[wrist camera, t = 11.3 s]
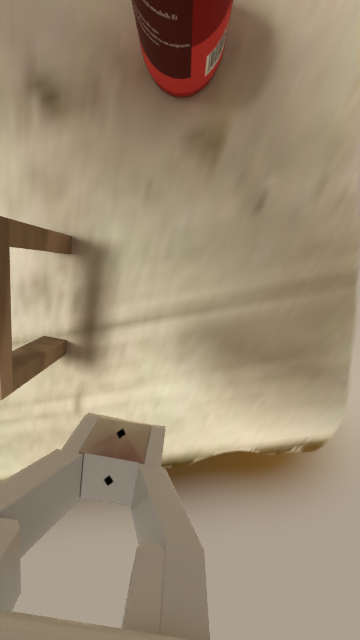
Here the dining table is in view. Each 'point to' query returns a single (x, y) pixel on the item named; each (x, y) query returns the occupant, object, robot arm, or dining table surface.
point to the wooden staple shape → (29, 360)
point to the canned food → (182, 41)
